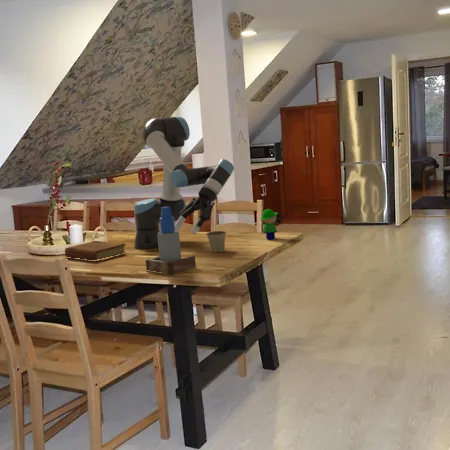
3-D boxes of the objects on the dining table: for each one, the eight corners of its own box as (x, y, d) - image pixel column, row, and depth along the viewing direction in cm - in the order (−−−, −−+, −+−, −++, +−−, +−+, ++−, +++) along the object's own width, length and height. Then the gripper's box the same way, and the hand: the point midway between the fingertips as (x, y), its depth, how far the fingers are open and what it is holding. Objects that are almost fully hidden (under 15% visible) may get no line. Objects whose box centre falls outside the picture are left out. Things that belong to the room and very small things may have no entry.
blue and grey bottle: (160, 269, 246) (154, 209, 242) (160, 264, 254) (155, 206, 250) (182, 267, 246) (176, 207, 242) (181, 262, 255) (176, 204, 251)
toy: (282, 238, 296) (280, 208, 294) (266, 241, 293) (264, 211, 291) (274, 236, 304) (272, 207, 302) (258, 238, 301) (256, 209, 299)
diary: (65, 259, 291) (64, 248, 290) (96, 251, 305) (95, 240, 305) (96, 263, 277) (94, 250, 276) (126, 254, 291) (125, 243, 290)
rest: (146, 271, 250) (145, 259, 250) (171, 263, 261) (170, 252, 260) (171, 274, 240) (170, 263, 240) (195, 267, 250) (194, 255, 250)
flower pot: (230, 248, 283) (229, 230, 281) (224, 253, 274) (222, 234, 272) (211, 249, 286) (210, 231, 284) (204, 253, 277) (203, 234, 276)
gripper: (232, 197, 251) (206, 239, 245) (199, 195, 271) (174, 233, 265) (221, 186, 247) (194, 228, 241) (188, 184, 267) (162, 223, 261)
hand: (183, 231), depth 253 cm, fingers open, 13 cm apart
